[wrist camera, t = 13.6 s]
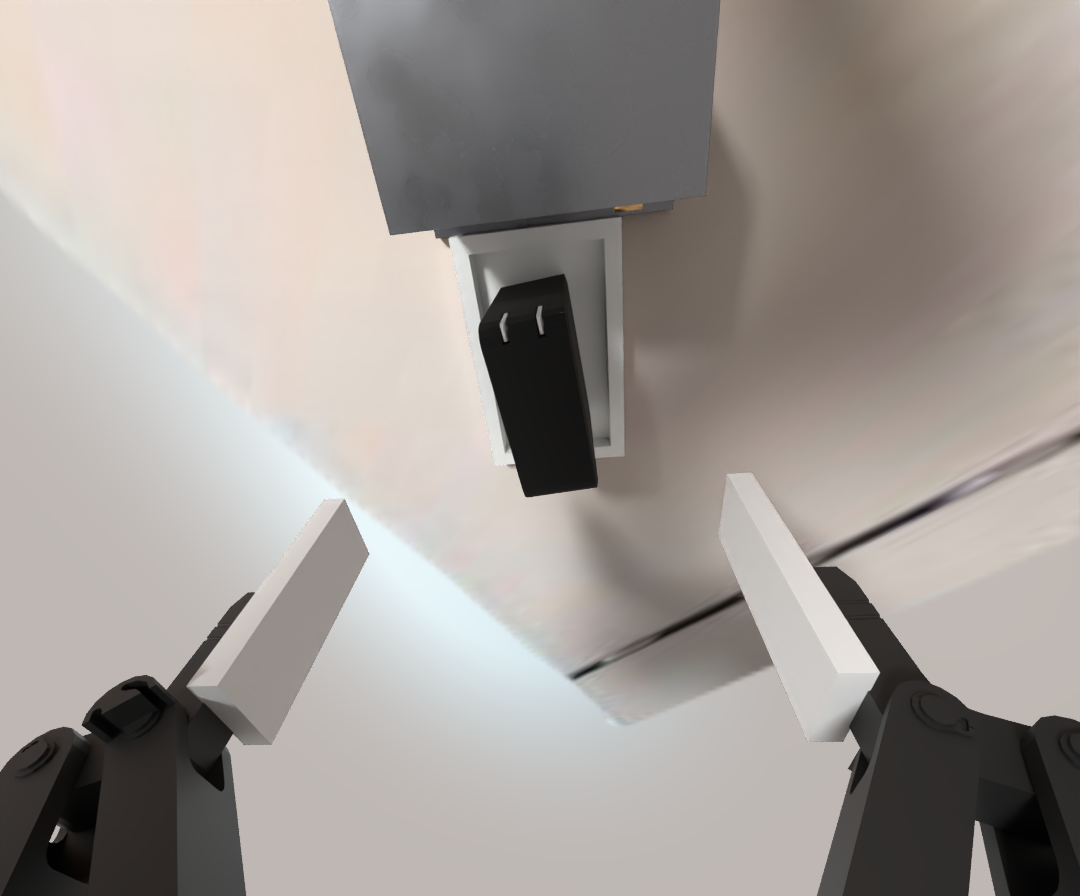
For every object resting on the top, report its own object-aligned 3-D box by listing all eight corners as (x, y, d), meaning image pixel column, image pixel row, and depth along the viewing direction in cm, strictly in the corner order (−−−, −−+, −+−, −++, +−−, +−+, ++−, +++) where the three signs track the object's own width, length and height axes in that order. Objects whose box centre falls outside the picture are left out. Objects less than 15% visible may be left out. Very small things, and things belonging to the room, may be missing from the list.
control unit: (392, 16, 21) (264, -109, 12) (679, -35, 20) (776, -219, 11) (439, 236, 27) (373, 265, 17) (669, 208, 25) (730, 223, 16)
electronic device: (535, 420, 32) (525, 504, 24) (501, 284, 27) (473, 330, 19) (590, 411, 32) (599, 494, 23) (565, 270, 27) (566, 311, 18)
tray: (454, 235, 27) (448, 238, 25) (618, 214, 26) (621, 216, 24) (497, 453, 35) (494, 465, 33) (621, 444, 34) (624, 456, 32)
